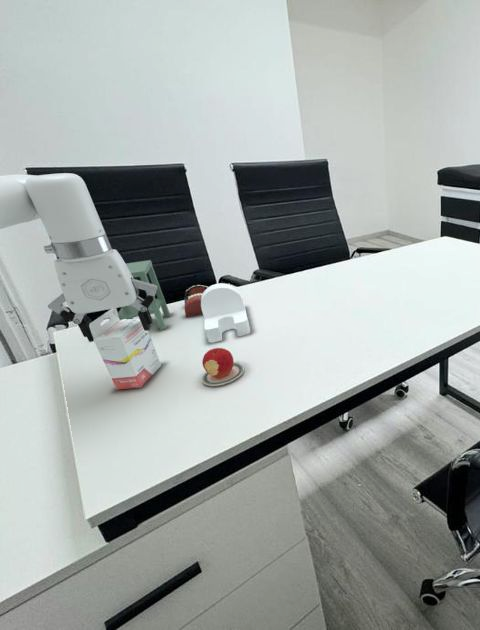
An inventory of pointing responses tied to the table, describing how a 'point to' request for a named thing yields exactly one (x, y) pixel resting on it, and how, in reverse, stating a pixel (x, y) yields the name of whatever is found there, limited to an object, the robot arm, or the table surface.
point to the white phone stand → (223, 311)
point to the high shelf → (140, 271)
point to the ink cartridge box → (125, 350)
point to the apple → (220, 367)
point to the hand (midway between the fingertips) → (121, 332)
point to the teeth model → (194, 300)
